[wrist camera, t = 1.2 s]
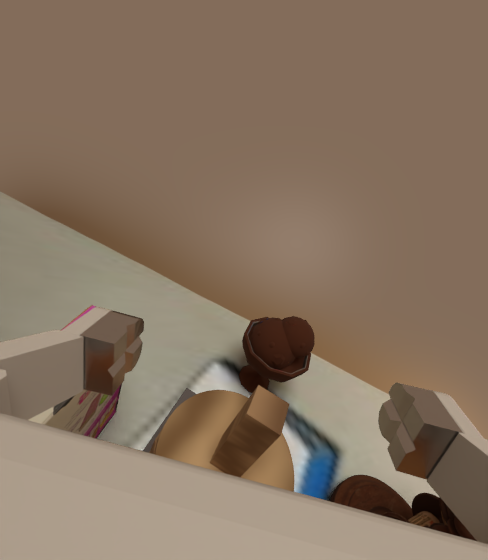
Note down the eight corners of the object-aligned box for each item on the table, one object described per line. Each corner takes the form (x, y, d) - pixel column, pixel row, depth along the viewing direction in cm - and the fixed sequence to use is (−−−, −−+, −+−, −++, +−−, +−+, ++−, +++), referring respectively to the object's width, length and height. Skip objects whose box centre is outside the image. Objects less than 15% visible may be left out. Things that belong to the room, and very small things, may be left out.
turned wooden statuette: (376, 689, 26) (609, 701, 15) (300, 499, 36) (407, 425, 25) (455, 607, 33) (650, 576, 22) (373, 469, 43) (481, 401, 32)
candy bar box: (82, 393, 36) (92, 301, 27) (117, 411, 36) (139, 324, 27) (-6, 490, 26) (-34, 398, 18) (41, 515, 26) (37, 435, 18)
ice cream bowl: (270, 352, 54) (309, 296, 46) (292, 409, 46) (343, 352, 38) (218, 351, 50) (251, 288, 41) (232, 414, 41) (277, 350, 33)
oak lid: (109, 514, 28) (137, 438, 19) (188, 395, 40) (228, 316, 31) (242, 611, 26) (343, 578, 17) (281, 455, 39) (351, 390, 30)
